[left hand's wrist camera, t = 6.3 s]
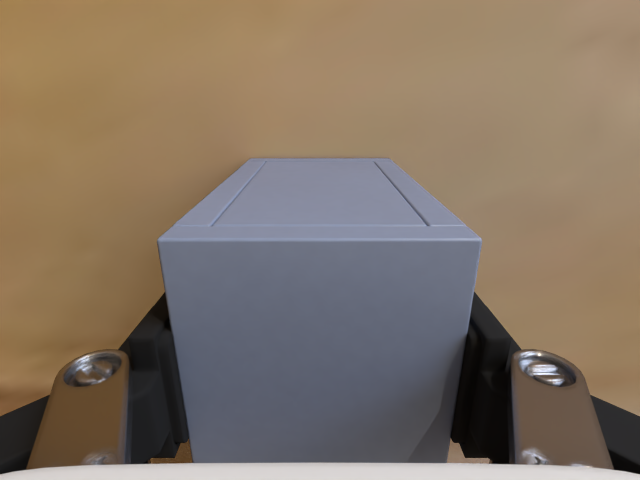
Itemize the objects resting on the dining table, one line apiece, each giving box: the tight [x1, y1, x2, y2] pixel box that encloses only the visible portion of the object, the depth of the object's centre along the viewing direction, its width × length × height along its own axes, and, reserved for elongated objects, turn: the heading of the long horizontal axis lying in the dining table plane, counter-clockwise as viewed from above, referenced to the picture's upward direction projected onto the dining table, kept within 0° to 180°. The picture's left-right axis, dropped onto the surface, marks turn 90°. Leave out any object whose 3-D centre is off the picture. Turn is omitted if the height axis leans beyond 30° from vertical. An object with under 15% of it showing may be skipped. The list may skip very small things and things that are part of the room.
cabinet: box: [157, 158, 482, 463], centre depth 15 cm, size 19×6×10 cm, turn 0°
